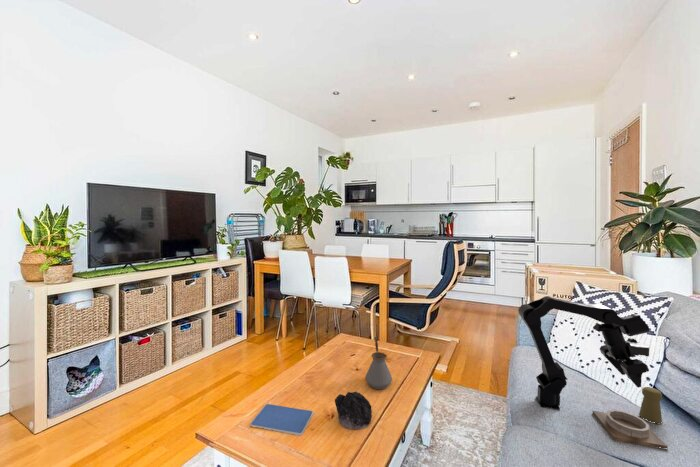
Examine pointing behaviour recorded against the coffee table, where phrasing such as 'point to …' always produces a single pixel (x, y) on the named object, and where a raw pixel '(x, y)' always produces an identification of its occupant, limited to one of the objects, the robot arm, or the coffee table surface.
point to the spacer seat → (628, 428)
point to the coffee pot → (378, 371)
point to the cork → (651, 405)
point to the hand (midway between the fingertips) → (631, 380)
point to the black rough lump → (353, 410)
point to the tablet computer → (283, 419)
